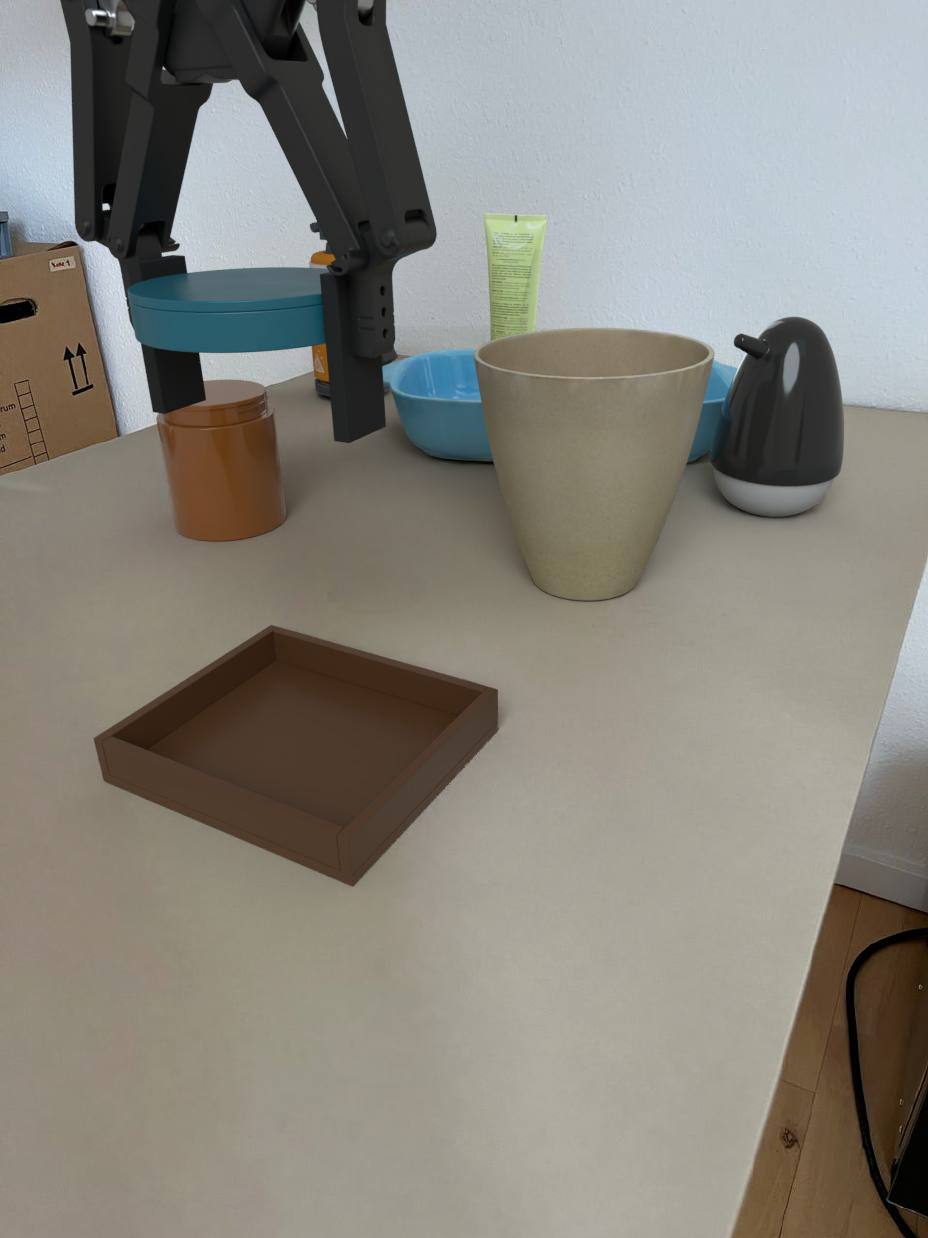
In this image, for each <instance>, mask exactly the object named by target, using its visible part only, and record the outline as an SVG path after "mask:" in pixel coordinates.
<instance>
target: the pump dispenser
mask: <svg viewBox="0 0 928 1238" xmlns="http://www.w3.org/2000/svg"><path fill="white" fill-rule="evenodd" d="M733 346H734V347H735V348H736V349H739V350H740V351H742V352H744V353H745V354H744V356H743V358H742V360H741V361H740V363H739V364H738V367H737V368H738V369H737V371H736V374H735V376H734V378H733V380H732V383H731V385H730V387H729V390H728V392H727V395H726V397H725V400H724V403H723V406H722V409H721V412H720V415H719V419H718V422H717V426H716V430H715V434H714V438H713V442H712V447H711V450H710V454H709V460H710V461H709V462H710V464H711V466H712V467H713V473H714V478H715V482H716V484H717V487H718V490H719V491H720V493H721V494H722V496H723V497H724V498H725V499H726V500H727V501H728V502H729V503H730V504H732V505H733V506H734V507H735V508H737V509H740V510H742V511H743V512H746V513H749V514H752V515H756V516H762V517H769V518H782V517H790V516H795V515H798V514H801V513H804V512H806V511H808V510H810V509H813V508H814V507H815V506H817V504H818V503H819V502H821V501H822V499H824V497H825V496H826V495H827V494H828V492H829V490H830V488H831V487H832V485H833V483H834V480H835V478H837V477H838V476H839V475H840V473H841V471H842V466H843V459H844V445H845V414H844V413H845V411H844V402H843V401H844V400H843V393H842V386H841V379H840V375H839V369H838V365H837V360H836V357H835V354H834V351H833V348H832V345H831V343H830V340H829V339H828V337H827V334H826V333H825V331H824V330H823V329H822V328H821V326H820V325H818V323H816V322H815V321H813V320H811V319H808V318H805V317H801V316H785V317H782V318H779V319H776V320H774V321H772V322H770V323H769V324H767V325H766V326H765V327H764V328H763V329H762V330H761V331H760V332H759V333H758V335H756V336H755V337H754V336H751V335H749V334H745V333H738V334H736V335H735V337H734V338H733Z"/></svg>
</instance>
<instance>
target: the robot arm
mask: <svg viewBox="0 0 928 1238" xmlns="http://www.w3.org/2000/svg"><path fill="white" fill-rule="evenodd" d="M59 1H60V6H61V9H62V14H63V19H64V22H65V23H64V24H65V26H66V31H67V35H68V40H69V50H70V51H69V52H70V53H69V54H70V86H71V88H70V89H71V91H70V92H71V93H70V94H71V121H72V122H71V125H72V127H71V129H72V159H73V160H72V166H73V167H72V168H73V202H74V203H73V207H74V226H75V231H76V233H77V235H78V237H80V239H81V240H82V241H84V242H88V243H91V242H97V243H98V244H100V245H102V246H104V247H106V248H107V249H108V251H109V253H110V254H111V255H112V256H113V258H115V259H117V261H118V264H119V268H120V273H121V279H122V284H123V291H124V296H125V298H126V299H125V301H126V307H127V313H128V318H129V322H130V324H131V328H132V330H134V326H133V321H132V315H131V309H130V303H129V298H128V288H129V287H130V286H132V285H134V284H136V283H139V282H142V281H146V280H149V279H154V278H159V277H164V276H170V275H176V274H184V273H188V269H187V268H188V267H187V262H186V255H181V254H180V255H179V254H169V255H164V256H163V254H165V253H171V252H177V250H179V249H180V247H181V244H180V243H179V242H177V241H176V239H174V238H173V237H171V236H172V230H173V227H174V222H175V218H176V213H177V208H178V204H179V200H180V195H181V191H182V186H183V181H184V177H185V173H186V168H187V163H188V159H189V155H190V150H191V146H192V142H193V138H194V133H195V127H196V123H197V118H198V114H199V111H200V108H201V107H202V106H203V105H205V104H206V103H207V102H208V101H209V99H210V97H211V94H212V92H213V87H214V84H228V83H229V82H231V81H239V83H240V85H241V87H242V89H243V90H244V92H245V93H246V94H247V95H248V96H249V98H251V99H253V100H254V101H256V102H257V103H258V104H259V106H260V108H261V110H262V111H263V114H264V116H265V117H266V119H267V122H268V124H269V127H270V128H271V130H272V133H273V134H274V137H275V138H276V140H277V142H278V145H279V147H280V148H281V150H282V153H283V155H284V156H285V159H286V160H287V163H288V165H289V167H290V169H291V171H292V173H293V175H294V177H295V179H296V181H297V183H298V186H299V187H300V190H301V192H302V194H303V196H304V197H305V199H306V201H307V203H308V206H309V209H310V210H311V212H312V214H313V216H314V218H315V220H316V222H318V224H319V226H320V228H321V230H322V232H323V234H324V236H325V238H326V240H325V241H326V242H327V243H328V245H329V247H330V249H331V251H332V253H333V255H334V257H335V260H334V261H333V262H331V264H330V265H327V266H326V267H327V269H328V270H329V272H328V273H323V274H320V284H321V295H322V307H323V318H324V329H325V341H326V352H327V364H328V375H329V387H330V397H329V398H330V409H331V419H332V431H333V432H332V433H333V441H334V442H336V443H337V442H338V443H344V444H351V443H353V442H355V441H357V440H360V439H362V438H364V437H366V436H368V435H371V434H373V433H375V432H377V431H379V430H382V429H385V428H386V427H387V420H386V419H387V417H386V406H385V405H386V404H385V392H384V385H383V369H382V355H383V354H386V353H389V352H392V350H393V346H394V347H395V342H396V325H395V323H396V321H395V314H394V313H395V306H394V285H393V272H394V268H395V267H396V264H397V263H398V262H399V261H400V260H402V259H403V258H406V257H408V256H410V255H413V254H415V253H418V252H420V251H424V250H428V249H430V248H432V247H433V245H434V244H435V243H436V240H437V236H438V233H437V226H436V221H435V217H434V214H433V210H432V205H431V201H430V197H429V193H428V189H427V185H426V181H425V177H424V173H423V168H422V164H421V161H420V156H419V153H418V149H417V144H416V141H415V136H414V132H413V128H412V124H411V121H410V116H409V111H408V108H407V103H406V100H405V96H404V91H403V88H402V87H403V86H402V83H401V79H400V74H399V71H398V68H397V63H396V58H395V54H394V51H393V47H392V43H391V38H390V35H389V31H388V30H389V29H388V26H387V0H59ZM307 3H308V4H309V5H312V7H313V9H314V11H315V12H316V17H317V18H316V19H317V24H318V32H319V37H320V41H321V46H322V50H323V53H324V57H325V61H326V65H327V68H328V73H329V76H330V80H331V83H332V87H333V92H334V96H335V98H336V102H337V106H338V111H339V113H340V117H341V121H342V125H343V128H342V125H341V123H340V121H339V119H338V117H337V115H336V112H335V109H334V108H333V106H332V105H331V101H330V100H329V97H328V95H327V93H326V91H325V89H324V86H323V83H324V80H325V74H324V70H323V69H322V67H321V64H320V62H319V60H318V58H317V55H316V54H315V51H314V49H313V47H312V45H311V43H310V40H309V38H308V37H307V34H306V32H305V30H304V28H303V26H302V24H301V22H300V20H301V17H302V16H303V15H302V14H303V12H304V9H305V7H306V4H307ZM105 204H108V205H107V206H108V207H109V209H104V207H103V206H104V205H105ZM140 347H141V352H142V359H143V365H144V370H145V376H146V381H147V387H148V392H149V398H150V404H151V409H152V413H155V414H159V413H162V414H166V413H169V412H172V411H175V410H178V409H181V408H184V407H187V406H190V405H193V404H196V403H199V402H202V401H205V400H206V395H205V388H204V381H205V380H204V376H203V367H202V363H201V361H202V360H201V356H200V353H194V352H180V351H171V350H164V349H158V348H154V347H150V346H147V345H144V344H142V343H140Z"/></svg>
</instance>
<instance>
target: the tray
mask: <svg viewBox="0 0 928 1238" xmlns="http://www.w3.org/2000/svg"><path fill="white" fill-rule="evenodd" d="M498 731H499V689H498V688H495V687H491V686H488V685H485V684H482V683H478V682H474V681H470V680H467V679H464V678H460V677H457V676H454V675H450V674H445V673H442V672H439V671H435V670H433V669H432V670H431V669H429V668H425V667H421V666H418V665H414V664H410V663H408V662H404V661H400V660H397V659H394V658H389V657H386V656H383V655H379V654H375V653H372V652H368V651H365V650H362V649H358V648H355V647H351V646H348V645H344V644H342V643H341V644H340V643H337V642H333V641H330V640H326V639H323V638H320V637H319V638H318V637H316V636H312V635H309V634H305V633H303V632H298V631H295V630H292V629H289V628H284V627H281V626H277V625H274V624H270V625H269V626H266V627H265V628H263V629H262V630H260V631H259V632H256V633H255V634H254V635H253V636H251V637H249V638H248V639H246V640H245V641H243V642H242V643H240V644H239V645H237V646H236V647H234V648H232V649H231V650H229V651H227V652H226V653H224V654H223V655H222V656H220V657H217V659H215V660H213V661H212V662H211V663H209V664H207V665H205V666H204V667H203V668H200V669H199V670H198V671H196V672H194V673H193V674H192V675H190V676H188V677H187V678H185V679H184V680H182V681H180V682H179V683H178V684H175V686H173V687H171V688H170V689H168V690H167V691H165V692H164V693H162V694H161V695H159V696H157V697H155V698H154V699H152V700H151V701H150V702H148V703H146V704H145V705H143V706H141V707H140V708H139V709H137V710H135V711H134V712H132V713H131V714H129V715H127V716H126V717H125V718H122V719H121V720H120V721H118V722H117V723H114V725H112V726H111V727H109V728H107V729H106V730H104V731H103V732H101V733H99V734H97V735H96V736H94V737H93V743H94V746H95V752H96V755H97V760H98V763H99V767H100V771H101V775H102V780H103V782H105V783H108V784H110V785H112V786H113V787H114V786H115V787H117V788H119V789H122V790H124V791H126V792H129V793H131V794H134V795H136V796H138V797H141V798H142V799H145V800H148V801H150V802H152V803H154V804H157V805H159V806H161V807H164V808H165V809H169V810H171V811H173V812H176V813H178V814H180V815H183V816H185V817H187V818H190V819H192V820H195V821H197V822H199V823H202V824H204V825H207V826H209V827H211V828H214V829H215V830H218V831H220V832H223V833H225V834H228V835H229V836H233V837H234V838H237V839H239V840H242V841H244V842H247V843H249V844H250V845H251V844H252V845H253V846H256V847H258V848H262V849H264V850H265V851H268V852H270V853H272V854H274V855H276V856H277V855H278V856H280V857H282V858H283V859H287V860H289V861H292V862H293V863H296V864H299V865H301V866H303V867H305V868H308V869H309V870H310V869H311V870H312V871H315V872H318V873H320V874H321V875H325V876H327V877H329V878H332V879H334V880H336V881H339V882H340V883H343V884H346V885H348V886H350V887H353V886H355V885H356V883H358V882H359V881H360V880H361V878H363V876H364V875H365V874H366V873H367V872H368V871H369V870H370V868H372V866H373V865H374V864H375V863H376V862H377V861H378V860H379V859H380V858H381V857H382V856H383V854H384V853H385V852H387V850H388V849H389V848H390V847H391V846H392V845H393V844H394V843H395V842H396V841H397V839H399V837H400V836H401V835H402V834H403V833H404V832H405V831H406V830H407V829H408V828H409V827H410V826H411V824H412V823H414V821H415V820H416V819H417V818H418V817H419V815H421V814H422V813H423V812H424V810H426V809H427V807H428V806H429V805H430V804H431V803H432V802H433V801H434V800H435V799H436V798H437V796H439V794H440V793H442V792H443V790H444V789H445V788H446V787H447V786H448V785H449V784H450V782H452V780H454V778H455V777H456V776H457V775H459V773H460V772H461V771H462V770H463V769H464V767H466V765H467V764H468V763H469V762H470V761H471V760H472V759H473V758H474V757H475V756H476V755H477V753H479V751H480V750H482V748H483V747H484V746H485V745H486V744H487V743H488V742H489V741H490V740H491V739H492V738H493V737H494V735H496V733H497V732H498Z"/></svg>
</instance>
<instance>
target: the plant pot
mask: <svg viewBox="0 0 928 1238" xmlns="http://www.w3.org/2000/svg"><path fill="white" fill-rule="evenodd" d="M715 354H716V351H715V350H714V348H713V347H712V346H711V345H709V344H708V343H706V342H704V341H702V340H699V339H697V338H693V337H690V336H685V335H682V334H676V333H671V332H666V331H656V330H647V329H638V328H623V327H622V328H621V327H568V328H556V329H555V328H554V329H545V330H543V329H542V330H535V332H527V333H522V334H515V335H510V336H506V337H501V338H498V339H495V340H492V341H491V340H489V341H486V342H484V343H482V344H481V345H478V346H477V348H476V350H475V351H474V361H475V367H476V373H477V379H478V385H479V391H480V397H481V403H482V409H483V414H484V420H485V425H486V430H487V435H488V439H489V444H490V448H491V453H492V457H493V461H492V462H493V464H494V469H495V473H496V477H497V480H498V485H499V487H500V490H501V491H500V492H501V494H502V497H503V501H504V505H505V508H506V511H507V514H508V517H509V521H510V523H511V526H512V530H513V532H514V535H515V538H516V540H517V543H518V546H519V549H520V552H521V554H522V556H523V557H522V558H523V559H524V561H525V564H526V566H527V569H528V572H529V574H530V576H531V579H532V581H533V583H534V585H536V586H537V588H539V589H540V590H541V591H543V592H545V593H547V594H549V595H551V596H554V597H558V598H561V599H566V600H572V601H585V602H586V601H587V602H588V601H603V600H609V599H613V598H616V597H620V596H623V595H625V594H627V593H629V592H630V591H632V590H633V589H635V587H636V585H637V584H638V582H639V580H640V578H641V576H642V574H643V572H644V570H645V568H646V566H647V564H648V562H649V560H650V557H651V556H652V554H653V551H654V549H655V546H656V544H657V542H658V540H659V537H660V535H661V533H662V531H663V528H664V526H665V524H666V521H667V518H668V516H669V514H670V512H671V509H672V505H673V503H674V500H675V498H676V495H677V492H678V490H679V487H680V484H681V481H682V478H683V476H684V472H685V470H686V466H687V464H688V463H687V460H688V457H689V454H690V451H691V447H692V444H693V441H694V437H695V433H696V430H697V426H698V422H699V419H700V415H701V411H702V406H703V402H704V398H705V394H706V390H707V385H708V381H709V377H710V372H711V368H712V364H713V360H715Z"/></svg>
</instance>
